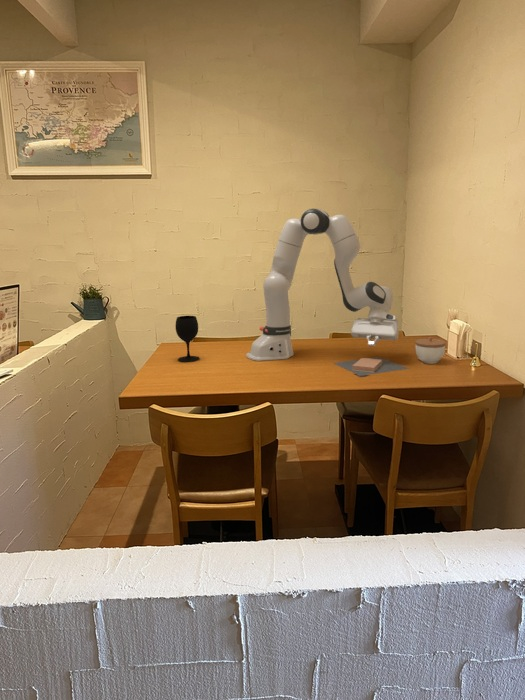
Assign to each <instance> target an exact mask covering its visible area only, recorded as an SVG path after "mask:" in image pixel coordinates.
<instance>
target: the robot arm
mask: <svg viewBox="0 0 525 700" xmlns="http://www.w3.org/2000/svg"><path fill="white" fill-rule="evenodd" d="M322 234H326V235H327V236H328V238H329V240H330V243H331V245H332V247H333V249H334V260H333V265H334V268H335V273H336V276H337V281H338V284H339V287H340V290H341V295H342V302H343V306H344V307H345V308H346V309H347V310H348V311H351V312H353V313H356V312H358V311H360V310H362V309H364V308H366V307H369V311H368V315H367V318H362V317H361V318H360V317H359V318H356V319H354V320H353V323H352V327H351V329H350V334H351V336H352V338H358V339H359V338H361V339H367V346H368V347H371V348H372V347H374V348H375V347H376V344H377V343H379V341H380V340H387V341H396V340H398V338H399V333H400V331H399V321H398V318H397V316H396V315H394V314H390V311H391V309H392V306H393V300H394V299H393V292H392V290H391V288H389V287H388V286H387V285H386V286H385V285H379V284H378V283H376V282H374V281H368V282H366V283H363V284H361V285H359V286H356V287H354V283H353V280H352V277H351V274H350V266H351V263H352V262H353V260H355V258H356V257H357V256H358V254H359V252H360V248H361V244H360V240H359V237H358V236H357V233H356V230H355V229H354V227H353V225H352V224H351V222H350V220H349V219H348V217H347V216H346V215H345V214H336V215H335V214H334V215H333V216H330V215H329V214H328V212H326V211H325V210H322V209H321V208H308V209H307V210H305V211H304V212H303V213H302V215H301V217H300V218H295V217H294V218H288V219H287V220H286V221H285V223H284V225H283V227H282V230H281V231H280V234H279V237H278V241H277V244H276V247H275V250H274V254H273V256H272V257H273V258H272V263H271V268H270V273H269V275H267V276H266V277H265V279H264V281H263V285H262V286H263V297H264V303H265V315H266V316H265V318H266V321H265V323H266V325H265V326H259V330H260V331H261V332H262V334H261V335H260V336H259V337H257V338H256V339H255V340H254V341H253V342H252V344H251V345H250V346H251V347H250V352H247V353H246V355H245V356H246V357H247V358H248V359H249V360H251V361H255V362H256V361H257V362H258V361H259V362H260V361H261V362H262V361H275V360H276V361H277V360H287V359H289V358H290V357H293V356H294V354H295V353H294V350H293V346H292V339H291V337H292V325H291V314H290V313H291V309H290V301H289V290H290V289H291V286H292V283H293V279H294V274H295V272H296V267H297V264H298V260H299V256H300V254H301V250H302V247H303V244H304V242H305V241H304V240H306V237H307V236H308V235H313V236H315V235H316V236H317V235H322ZM371 339H373V341H371Z"/></svg>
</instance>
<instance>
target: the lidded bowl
mask: <svg viewBox="0 0 525 700" xmlns="http://www.w3.org/2000/svg"><path fill="white" fill-rule="evenodd" d="M414 342H415V343H414V344H415V354H416V357H417V358H418V359H419V360H420V361H421V362H422V363H423V364H428V365H429V364H430V365H433V364H434V365H435V364H437V363H438V362H439V361H441V359H443V358H444V355H445V351H446V344H447V343H446V341H444V340H443V339H437V338H433V336H429V337H428V338H420V339H416V340H415V341H414Z"/></svg>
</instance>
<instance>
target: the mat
mask: <svg viewBox="0 0 525 700" xmlns="http://www.w3.org/2000/svg"><path fill="white" fill-rule="evenodd" d="M368 358H369V357H368ZM369 359H380V360H382V365H381V366H380V367H379V368H378V369H377V370H376V371H375V372H364V371H355V370H352V365H354V364H355V363H356V362H357V361H359V360H360V359H354V360H347V361H337V362H332V363H333V364H334V365H336V366H338V367H340V368H343V369H344V370H347V371H349V372H351V373H352V374H354V375H355V376H357V377H359V378H363V377H365V378H366V377H370V376H371V375H375V374H382V373H389V372H395V371H403V370H407V369H408V370H410V367H407V366H404V365H401V364H398V363H396V362H393V361H391V360H388V359H385V358H382V357H380V356H376V357H370V358H369Z"/></svg>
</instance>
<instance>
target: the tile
mask: <svg viewBox="0 0 525 700" xmlns="http://www.w3.org/2000/svg"><path fill="white" fill-rule="evenodd" d="M358 360H359V361H357V362H356V363H355V364H354V365H352V370H355V371H364V372H375V371H376V370H377V369H378V368H379V367H380V366H381V365H382V360H380V359H369V357H362V358H361V357H360V359H358Z"/></svg>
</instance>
